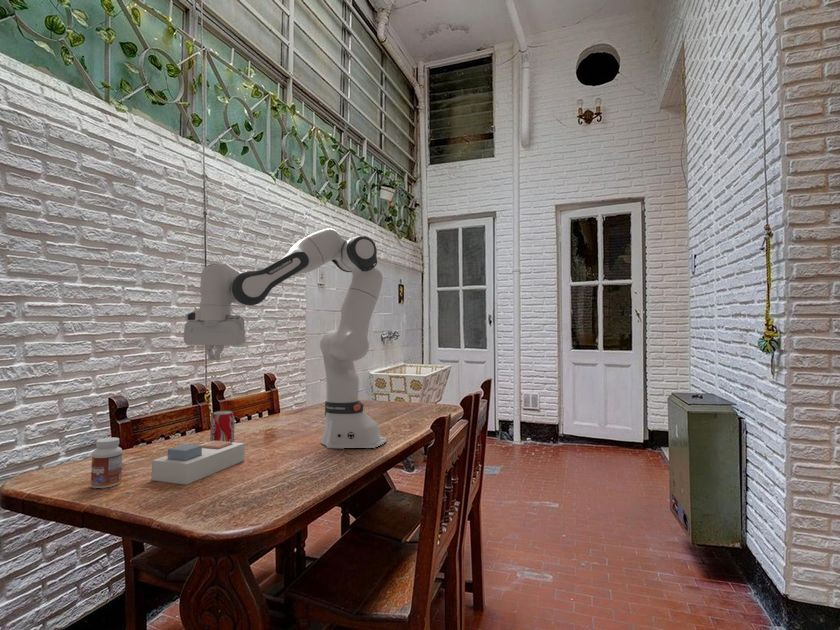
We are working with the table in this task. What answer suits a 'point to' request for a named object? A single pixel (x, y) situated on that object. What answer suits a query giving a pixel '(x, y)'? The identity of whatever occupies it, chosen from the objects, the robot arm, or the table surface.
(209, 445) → the terracotta key
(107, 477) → the pill bottle
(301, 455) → the table surface
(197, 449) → the slate key
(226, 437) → the soda can
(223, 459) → the key box
